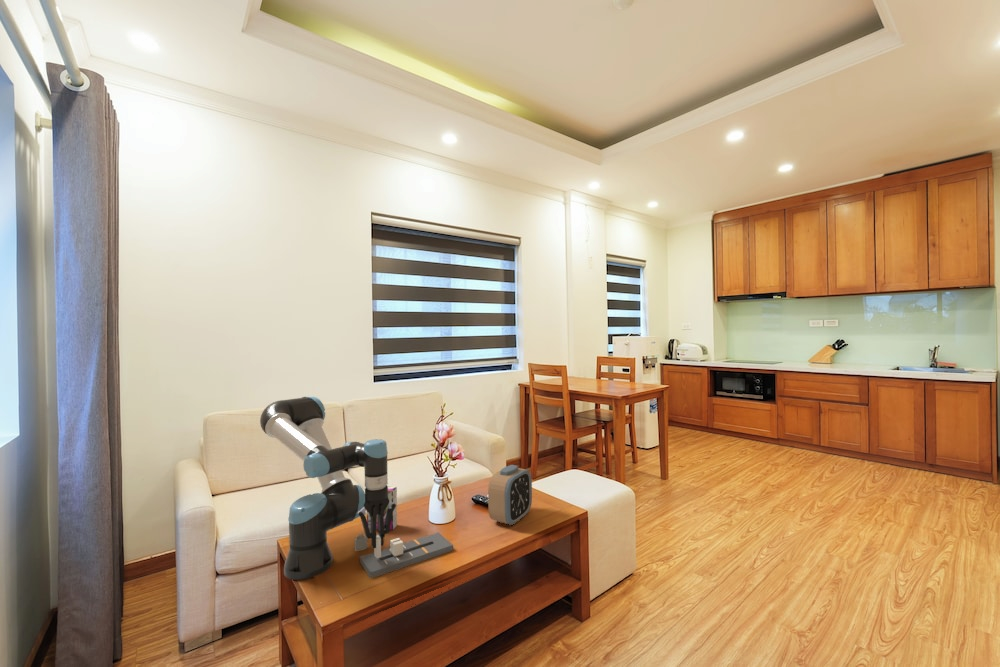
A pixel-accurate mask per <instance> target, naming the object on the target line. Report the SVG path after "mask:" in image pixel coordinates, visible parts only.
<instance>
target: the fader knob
mask: <svg viewBox="0 0 1000 667" xmlns="http://www.w3.org/2000/svg"><path fill="white" fill-rule="evenodd" d="M403 543H404V541H403V540H401V538H400V537H397V538H394V539H390V540H389V546H390V552H391V554H392V555H393V556H394V557H397V556H400V555H403Z"/></svg>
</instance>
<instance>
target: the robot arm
mask: <svg viewBox="0 0 1000 667" xmlns="http://www.w3.org/2000/svg"><path fill="white" fill-rule="evenodd" d="M325 411H326V408H325V406H324V403H323V401H321V399H320V398H318V397H315V396H302V397H297V398H289V399H281V400H277V401H273V402H272V403H270V404H268V405H267V406H266V407H265V408H264V409H263V410H262V411H261V415H260V417H259V418H260V419H259V424H260V428H261V429H262V431H263V432H264V434H266V436H268V437H270V438H275V439H276V440H278V441H279V442H280V443H281V444H283V445H284V446H285V447H286V448H288V449H289V450H290V452H292V453H293V454H294V455H295V456H297V457H298V458H299V459H300V460H301V461H303V465H302V466H303V470H304V472H305V475H306V476H307V477H308V478H310V479H316V478H317V480H318V483H319V484H320V487H321V492H320V493H319V492H318V493H312V494H306V495H304V496H302V497H299V498H297V499H296V500H295V501H293V503H292V504H291V505H290V507H289V511H288V528H289V529H288V534H289V535H288V538H289V540H288V541H289V547H288V548H289V549H288V553H287V556H286V559H285V561H284V565H283V575H284V577H285V578H286V579H289V580H291V581H304V580H310V579H312V578H313V579H314V578H315V577H316V576H319V575H321V574H322V573H325V572H326V571H327V570H328V569H330V568H331V567H332V565H333V554H332V551H331V549H330V546H329V543H328V537H327V533H328V531H330V530H333V529H335V528H337V527H340V526H342V525H346V524H348V523H350V522H353V521H355V520H356V519H358V518H360V520H361V524H362V527H363V531H364V534H365V535H366V537H367V540H369V539H371V543H370V544H371V548H372V549H374V550H373V552H374V555H375V557H376V558H380V557H381V550H382V547H383V546H384V543H385V542H384V541H385V540H384V539H385V537H386V535H387V534H389V533H390V531H391V530H390V525H391V520H392V515H393V511H394V509H395V507H396V504H395V503H394V502H390V501H389V499H388V484H389V482H388V480H389V478H388V476H389V475H388V447H387V446H388V445H387V444H388V443H387V441H385V439H370V440H367V441H365V442H364V443H362V442H360V441H348V442H345V443H344V445H343V446H340V447H335V448H332V446H331V444H330V442H329V440H328V439H329V438H327V435H326V433H325V431H324V429H323V426H324V422H325V421H324V420H325V418H326V412H325ZM356 466H358V467H362V468H364V488H363V487H362V486H361V485H359V484H354V483H353V481H352V479H351V478H348V477H345V475H344V473H343V470H346V469H349V468H353V467H356ZM387 506H388V509H387V514H386V519H385V524H384V511H385V509H386V508H387ZM367 511H368V513H369V514H370V521H371V533H370V531H369V527H368V523H367V516H366V515H367ZM377 514H378V530H376V518H377ZM377 532H378V534H377ZM365 535H364V536H365Z"/></svg>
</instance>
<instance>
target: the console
mask: <svg viewBox="0 0 1000 667" xmlns="http://www.w3.org/2000/svg"><path fill="white" fill-rule="evenodd" d="M453 551H454V544H452V542H451V541H449V540H448V539H447V538H446V537H444V536H443V535H442V534H441V533H440V532H436V533H432V534H429V535H426V536H422V537H419V538H417V539H412V540H409V541H406V542H403V555H400V556H397V557H394V556H393V555H392V554H391V552H390V547H387V548H383V549H381V557H380V558H376V557H375V555H374V551H373V552H370V553H367V554H364V555H361V556H359V563H360V565H361V566H362V567H363V569H364V570H365V572H366V573H367V575H368V577H369V578H370V579H374V578H377V577H379V576H382V575H386V574H388V573H390V572H391V573H392V572H394V571H397V570H401V569H403V568H406V567H409V566H411V565H414V564H415V565H416V564H418V563H421V562H424V561H426V560H430V559H431V558H436V557H438V556H440V555H444V554H447V553H450V552H453Z"/></svg>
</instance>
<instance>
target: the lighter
mask: <svg viewBox="0 0 1000 667" xmlns="http://www.w3.org/2000/svg"><path fill="white" fill-rule="evenodd" d="M369 531H370V533H371V526H370V528H369ZM364 534H365V533H360V534H358V535H357V536H356V537H354V552H359V551H364V550H367V549H368V538H367V537H366V535H364Z"/></svg>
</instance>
